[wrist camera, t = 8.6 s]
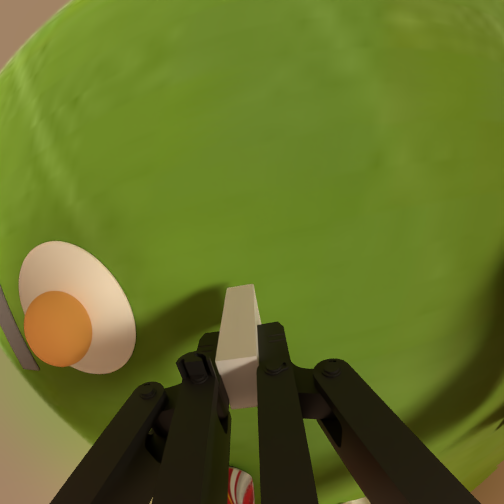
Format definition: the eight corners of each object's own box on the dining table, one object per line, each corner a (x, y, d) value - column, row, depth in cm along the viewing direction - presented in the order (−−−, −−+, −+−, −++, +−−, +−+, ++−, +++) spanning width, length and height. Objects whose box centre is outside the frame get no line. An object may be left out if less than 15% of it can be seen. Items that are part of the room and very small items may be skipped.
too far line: (-8, 260, 17) (-10, 260, 17) (40, 369, 21) (39, 370, 20) (-21, 265, 17) (-22, 265, 17) (24, 367, 21) (23, 368, 21)
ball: (79, 273, 19) (70, 296, 14) (103, 334, 20) (104, 370, 15) (23, 292, 16) (2, 319, 12) (50, 351, 18) (40, 388, 13)
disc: (105, 225, 17) (104, 225, 17) (157, 371, 20) (157, 373, 20) (4, 255, 17) (3, 256, 17) (54, 370, 21) (53, 371, 20)
